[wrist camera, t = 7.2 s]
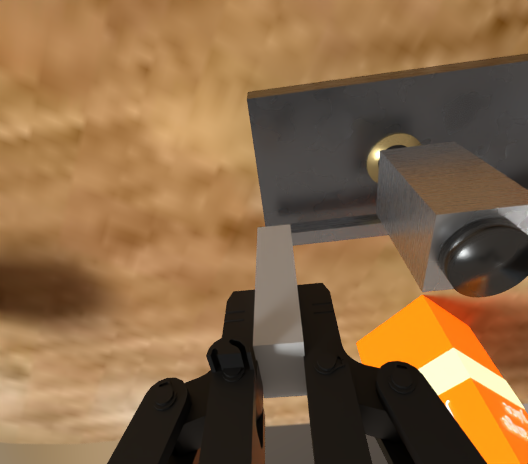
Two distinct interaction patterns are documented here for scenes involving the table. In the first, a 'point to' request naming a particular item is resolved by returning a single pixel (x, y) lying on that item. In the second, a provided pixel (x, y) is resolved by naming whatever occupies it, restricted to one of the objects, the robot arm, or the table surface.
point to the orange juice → (454, 376)
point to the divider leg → (453, 219)
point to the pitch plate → (378, 138)
